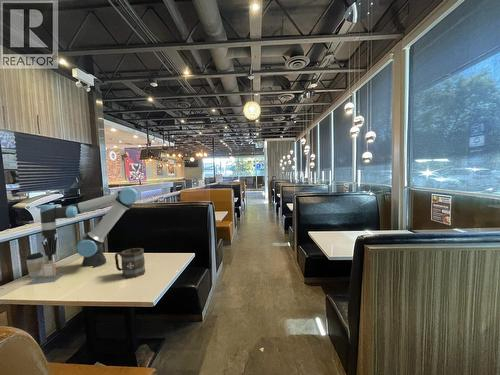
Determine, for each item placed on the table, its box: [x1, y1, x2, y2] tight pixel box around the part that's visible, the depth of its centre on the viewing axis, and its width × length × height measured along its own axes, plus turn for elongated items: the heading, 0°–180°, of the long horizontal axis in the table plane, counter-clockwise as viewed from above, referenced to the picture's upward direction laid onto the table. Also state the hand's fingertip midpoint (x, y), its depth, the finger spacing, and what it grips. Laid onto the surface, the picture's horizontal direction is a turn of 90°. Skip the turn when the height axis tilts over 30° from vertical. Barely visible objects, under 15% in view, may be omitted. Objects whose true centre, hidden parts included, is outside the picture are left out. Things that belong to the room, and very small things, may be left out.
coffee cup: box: [25, 251, 45, 278], centre depth 170 cm, size 9×9×15 cm
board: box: [24, 272, 69, 286], centre depth 162 cm, size 16×16×1 cm
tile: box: [42, 262, 57, 278], centre depth 165 cm, size 6×2×8 cm, turn 100°
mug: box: [114, 247, 146, 279], centre depth 165 cm, size 20×14×15 cm
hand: (51, 264), depth 168 cm, fingers closed
